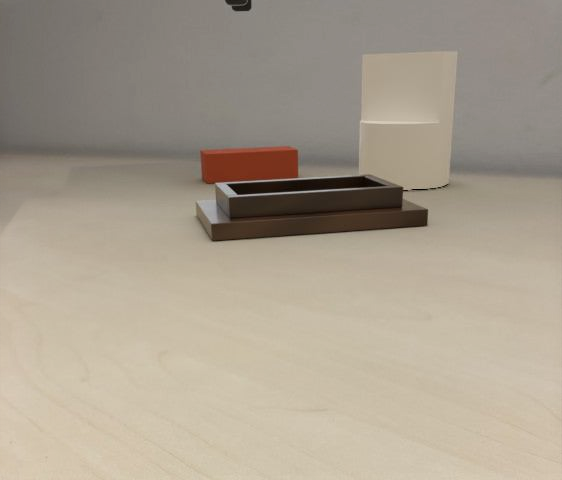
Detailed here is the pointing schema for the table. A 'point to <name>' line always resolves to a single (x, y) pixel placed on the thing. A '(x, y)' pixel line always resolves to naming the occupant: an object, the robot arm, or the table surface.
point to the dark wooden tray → (306, 207)
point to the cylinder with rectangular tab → (407, 117)
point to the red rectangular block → (249, 164)
